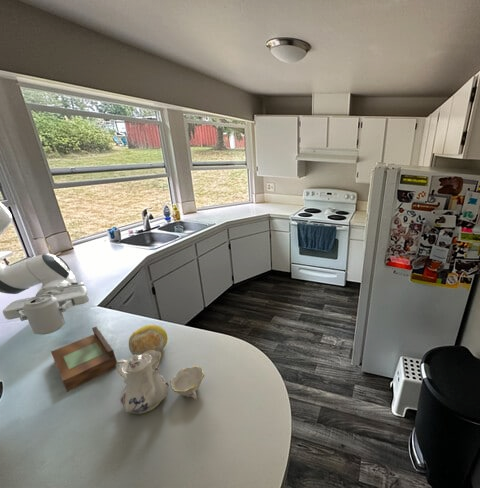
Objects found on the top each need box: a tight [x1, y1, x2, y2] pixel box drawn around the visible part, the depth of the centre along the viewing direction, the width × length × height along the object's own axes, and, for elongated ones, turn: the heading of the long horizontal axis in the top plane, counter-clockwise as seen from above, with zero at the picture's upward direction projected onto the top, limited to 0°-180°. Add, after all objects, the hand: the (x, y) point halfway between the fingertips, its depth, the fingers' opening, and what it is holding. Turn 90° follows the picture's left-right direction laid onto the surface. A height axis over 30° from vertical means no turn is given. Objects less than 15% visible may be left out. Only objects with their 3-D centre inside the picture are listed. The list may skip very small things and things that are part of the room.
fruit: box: [128, 324, 168, 356], centre depth 85 cm, size 10×11×10 cm
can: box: [23, 294, 66, 336], centre depth 83 cm, size 8×8×12 cm
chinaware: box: [115, 350, 205, 416], centre depth 71 cm, size 28×17×17 cm, turn 74°
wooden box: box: [50, 326, 118, 392], centre depth 80 cm, size 12×18×7 cm, turn 53°
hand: (43, 314), depth 82 cm, fingers closed on can, 7 cm apart
